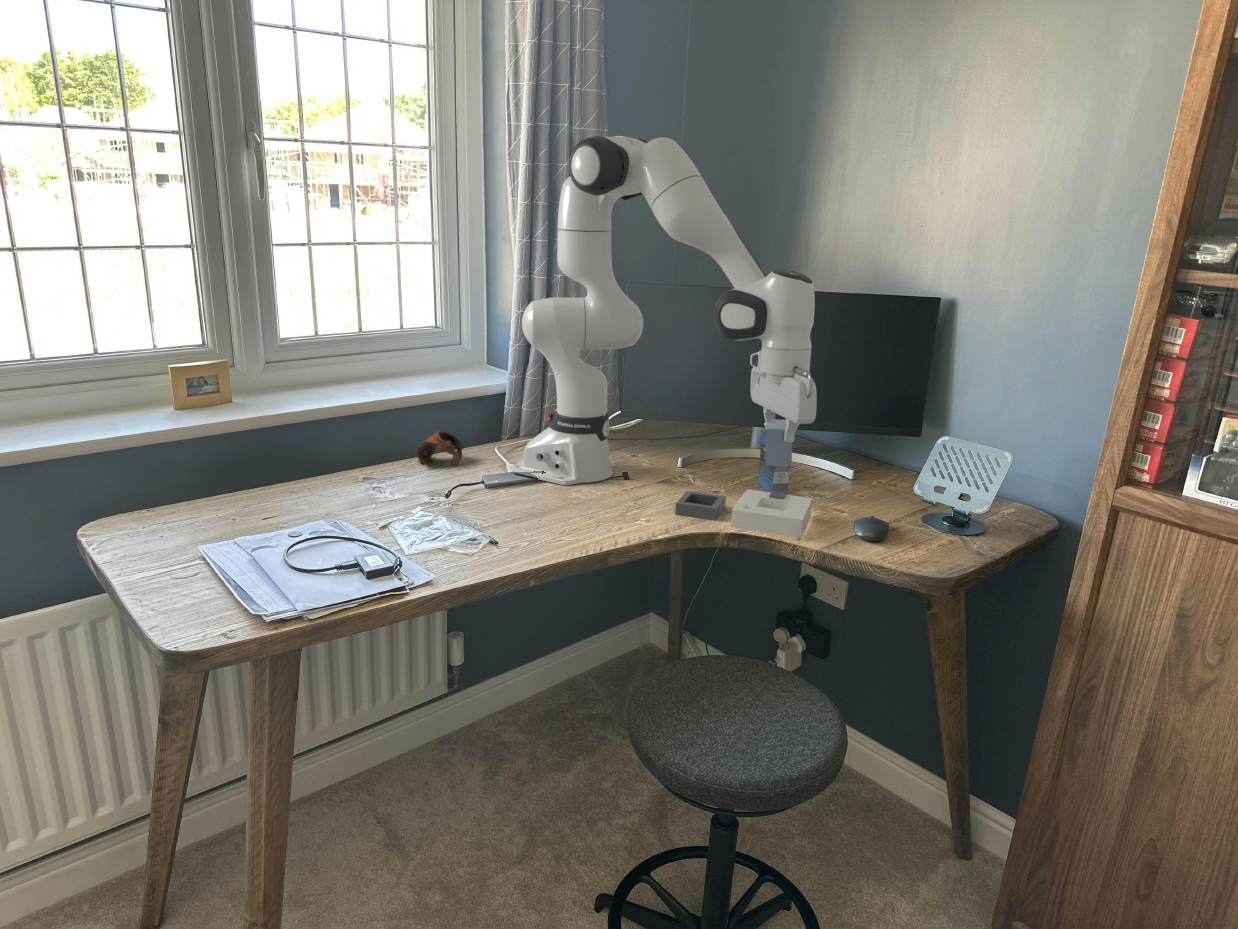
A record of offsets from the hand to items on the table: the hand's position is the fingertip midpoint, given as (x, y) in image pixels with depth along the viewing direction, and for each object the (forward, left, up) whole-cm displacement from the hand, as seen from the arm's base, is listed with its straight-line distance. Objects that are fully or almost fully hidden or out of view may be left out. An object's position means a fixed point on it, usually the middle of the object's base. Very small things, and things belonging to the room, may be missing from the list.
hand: (779, 436), depth 155 cm
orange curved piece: (-79, +7, -18) cm, 81 cm away
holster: (-14, 0, -17) cm, 22 cm away
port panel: (0, 0, -17) cm, 17 cm away
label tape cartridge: (-4, +20, -18) cm, 27 cm away
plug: (0, 0, -5) cm, 5 cm away
